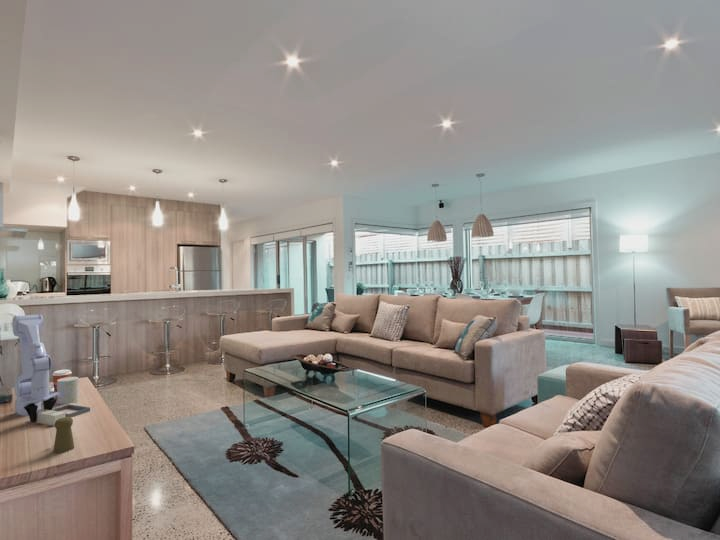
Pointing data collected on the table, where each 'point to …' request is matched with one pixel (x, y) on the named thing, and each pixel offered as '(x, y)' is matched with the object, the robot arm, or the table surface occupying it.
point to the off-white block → (55, 417)
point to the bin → (81, 408)
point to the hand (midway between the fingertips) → (40, 419)
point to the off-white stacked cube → (45, 416)
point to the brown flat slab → (39, 424)
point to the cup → (68, 390)
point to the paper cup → (59, 375)
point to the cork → (63, 435)
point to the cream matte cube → (39, 414)
